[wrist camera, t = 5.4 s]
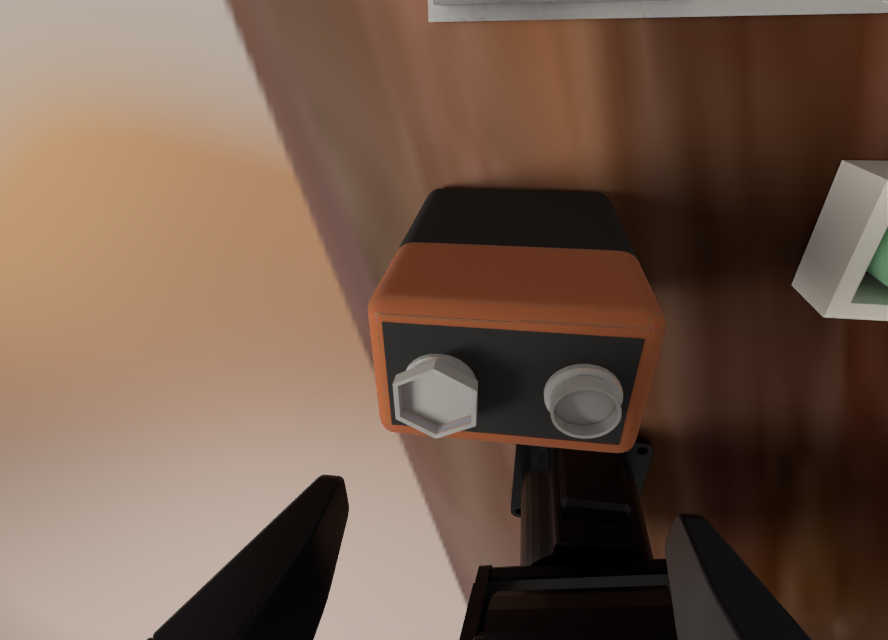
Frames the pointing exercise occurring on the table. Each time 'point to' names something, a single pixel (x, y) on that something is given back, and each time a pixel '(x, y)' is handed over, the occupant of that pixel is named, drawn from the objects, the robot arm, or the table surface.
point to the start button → (880, 261)
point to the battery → (516, 323)
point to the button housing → (848, 245)
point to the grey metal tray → (637, 8)
